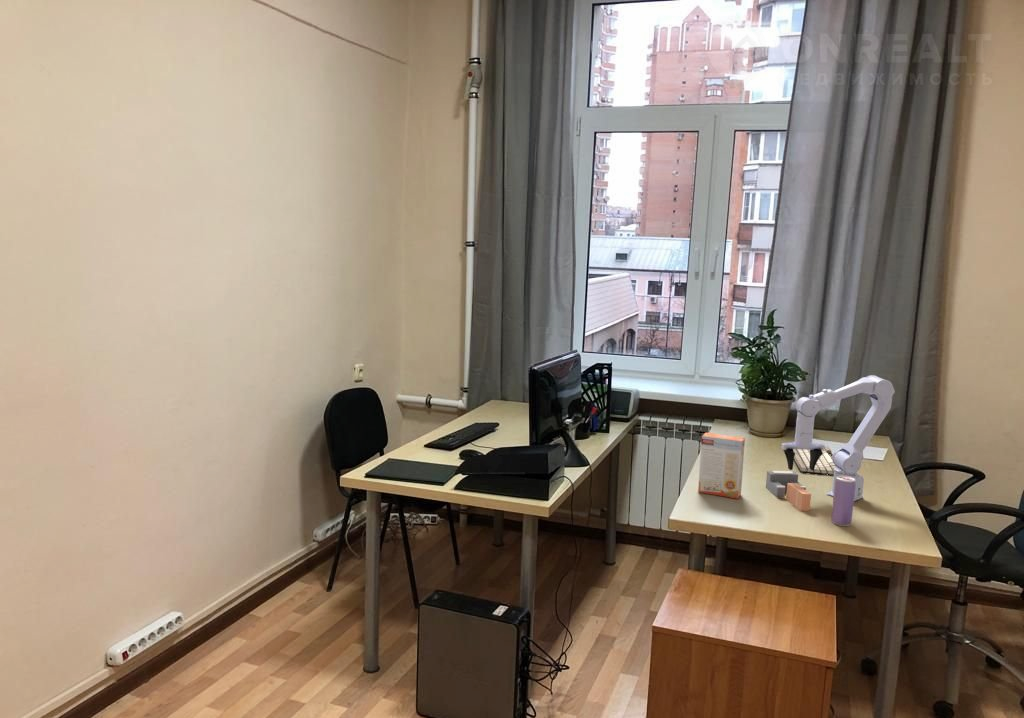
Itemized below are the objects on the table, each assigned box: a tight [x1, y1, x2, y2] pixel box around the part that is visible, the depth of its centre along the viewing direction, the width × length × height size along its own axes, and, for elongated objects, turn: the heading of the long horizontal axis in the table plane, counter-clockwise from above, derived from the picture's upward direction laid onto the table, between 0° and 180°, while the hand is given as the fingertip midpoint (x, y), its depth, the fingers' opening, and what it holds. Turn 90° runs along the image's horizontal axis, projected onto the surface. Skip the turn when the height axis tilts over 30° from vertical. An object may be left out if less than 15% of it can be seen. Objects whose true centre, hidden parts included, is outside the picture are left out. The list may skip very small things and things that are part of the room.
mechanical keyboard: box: [793, 445, 835, 476], centre depth 306 cm, size 38×19×3 cm, turn 169°
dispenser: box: [765, 470, 807, 499], centre depth 266 cm, size 11×10×6 cm
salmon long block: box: [785, 483, 812, 512], centre depth 254 cm, size 11×3×6 cm, turn 6°
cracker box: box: [697, 432, 746, 499], centre depth 262 cm, size 14×6×21 cm, turn 63°
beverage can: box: [830, 475, 856, 527], centre depth 238 cm, size 6×6×15 cm
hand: (800, 469), depth 263 cm, fingers open, 7 cm apart
